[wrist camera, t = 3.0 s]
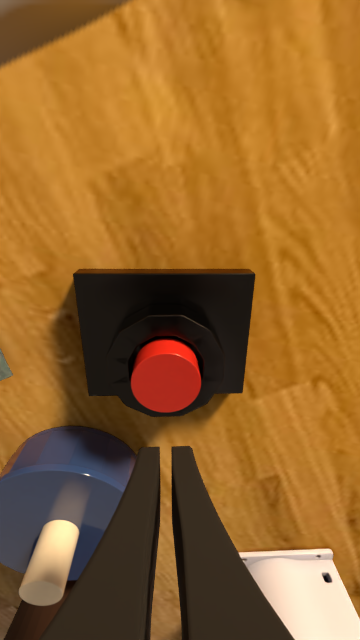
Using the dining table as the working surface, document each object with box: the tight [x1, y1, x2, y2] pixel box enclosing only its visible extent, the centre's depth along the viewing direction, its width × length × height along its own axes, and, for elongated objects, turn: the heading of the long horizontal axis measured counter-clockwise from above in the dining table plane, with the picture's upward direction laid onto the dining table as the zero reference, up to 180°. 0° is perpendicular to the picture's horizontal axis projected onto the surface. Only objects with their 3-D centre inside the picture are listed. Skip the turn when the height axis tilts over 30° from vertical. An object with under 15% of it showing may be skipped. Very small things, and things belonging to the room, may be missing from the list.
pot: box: [0, 426, 137, 487], centre depth 21 cm, size 10×10×4 cm
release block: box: [73, 269, 255, 417], centre depth 17 cm, size 10×8×3 cm
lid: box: [0, 464, 126, 606], centre depth 18 cm, size 11×11×4 cm
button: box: [131, 338, 201, 413], centre depth 16 cm, size 4×4×2 cm
